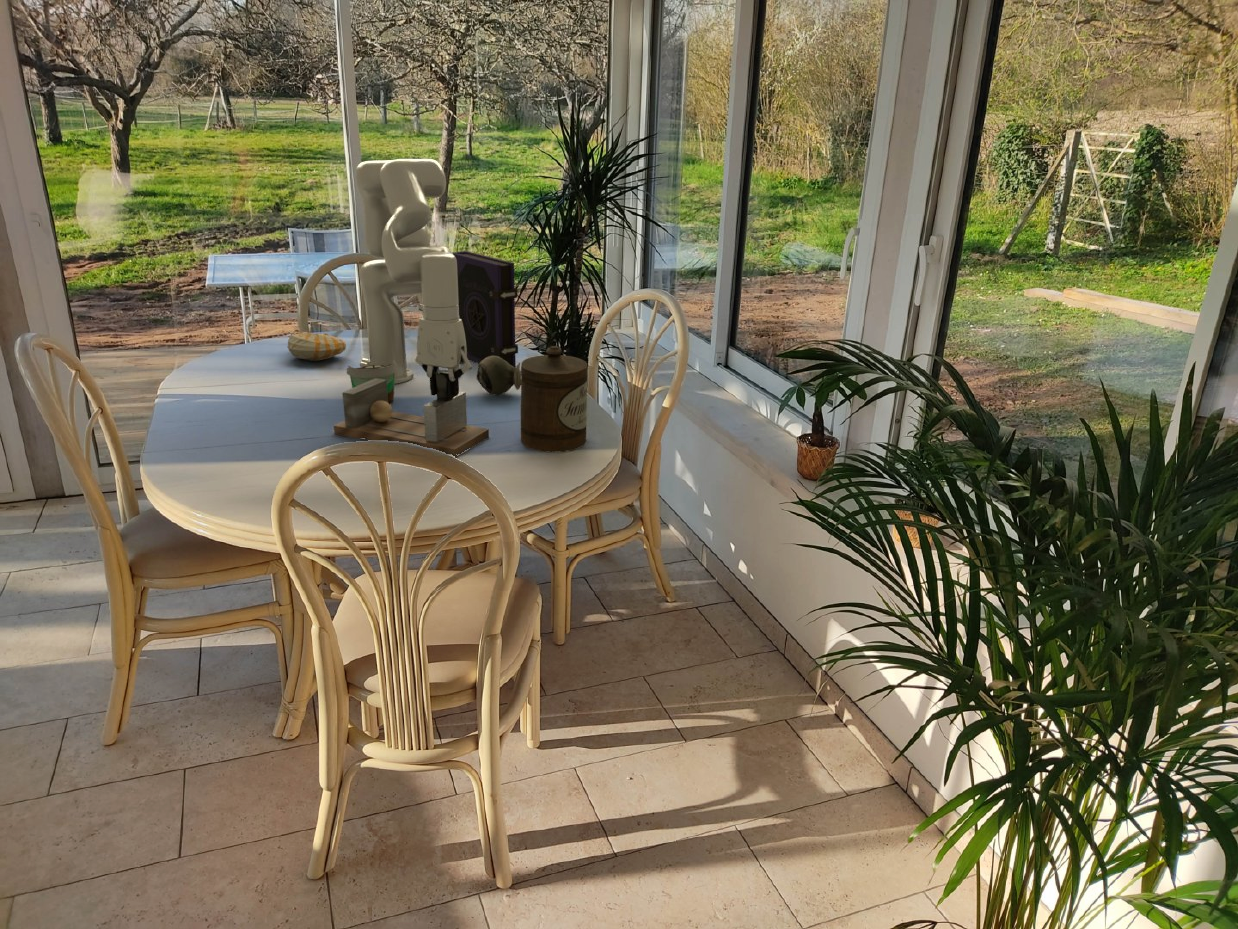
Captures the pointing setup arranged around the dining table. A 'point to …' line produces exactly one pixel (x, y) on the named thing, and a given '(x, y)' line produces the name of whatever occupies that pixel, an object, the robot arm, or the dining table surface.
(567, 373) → the wooden container
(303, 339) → the nautilus
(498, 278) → the book
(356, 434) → the base
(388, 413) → the walnut
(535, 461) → the dining table surface
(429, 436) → the sliding jaw
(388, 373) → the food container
